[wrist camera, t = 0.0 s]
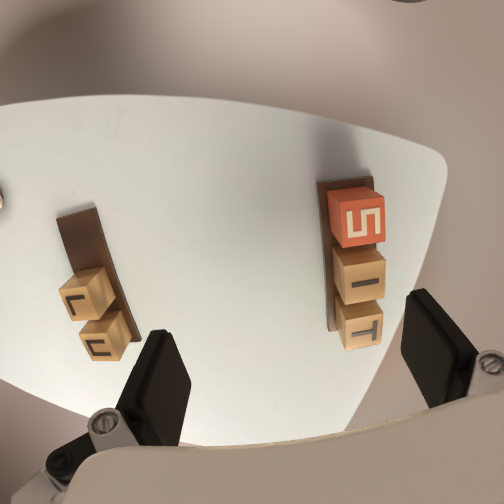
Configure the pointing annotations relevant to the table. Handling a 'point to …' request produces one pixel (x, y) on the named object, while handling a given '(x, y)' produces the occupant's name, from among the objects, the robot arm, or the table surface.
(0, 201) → the lightbulb
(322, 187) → the near word
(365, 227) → the tile
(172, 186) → the table surface
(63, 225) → the far word
